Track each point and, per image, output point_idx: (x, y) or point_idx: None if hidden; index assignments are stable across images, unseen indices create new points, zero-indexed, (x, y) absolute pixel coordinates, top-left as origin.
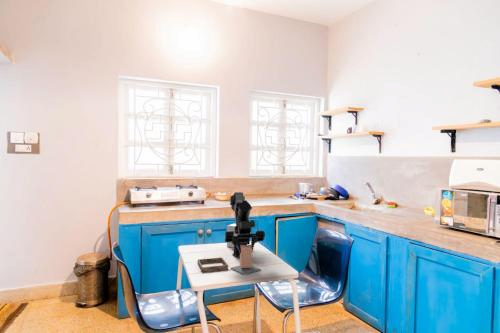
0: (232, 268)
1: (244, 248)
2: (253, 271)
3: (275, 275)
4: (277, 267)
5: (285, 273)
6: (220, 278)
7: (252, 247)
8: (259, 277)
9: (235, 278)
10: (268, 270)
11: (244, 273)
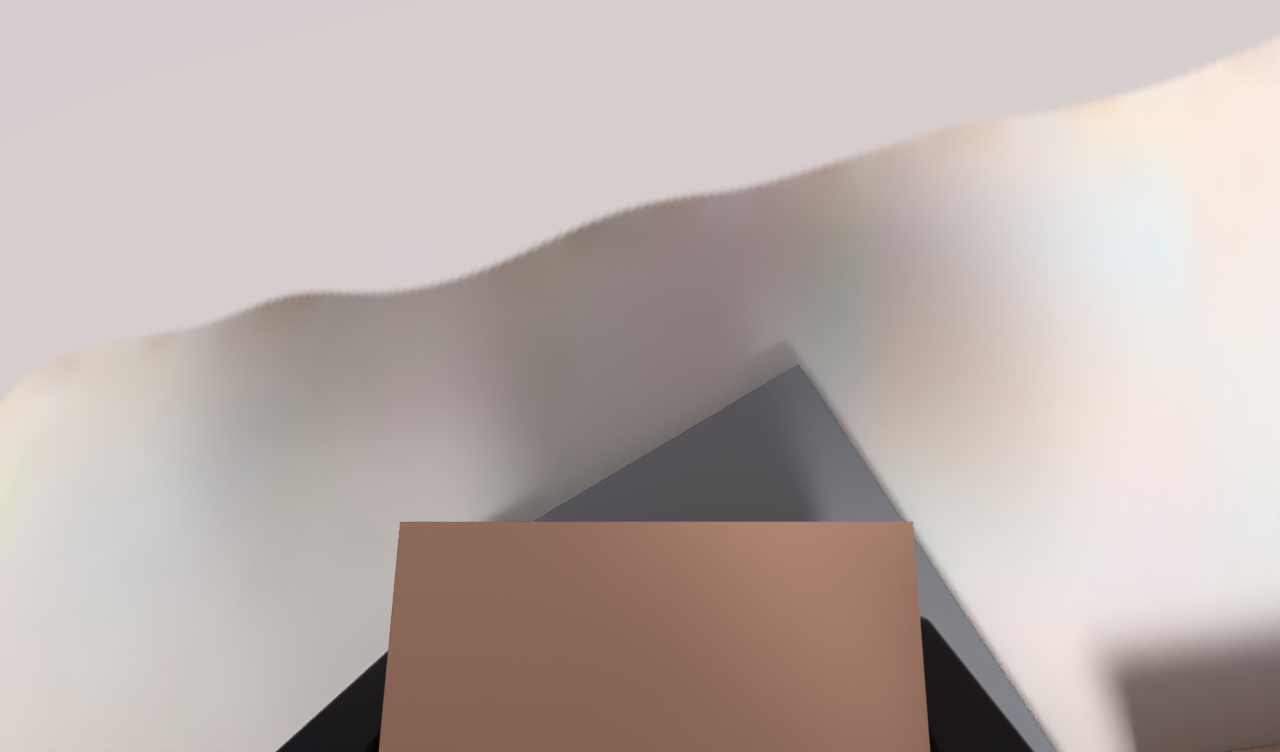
0: (1035, 724)
1: (746, 526)
2: (590, 490)
3: (273, 322)
4: (99, 716)
5: (99, 394)
6: (1264, 246)
7: (356, 714)
8: (538, 255)
9: (959, 233)
10: (304, 571)
11: (779, 381)
